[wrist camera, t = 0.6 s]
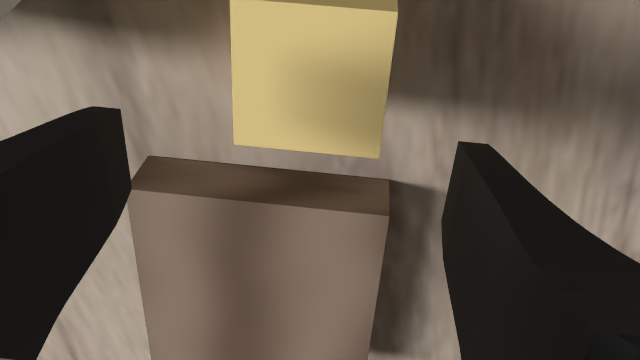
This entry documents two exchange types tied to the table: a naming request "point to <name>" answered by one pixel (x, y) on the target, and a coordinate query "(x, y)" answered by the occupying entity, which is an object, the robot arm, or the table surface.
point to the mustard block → (311, 73)
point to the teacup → (7, 6)
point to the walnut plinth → (257, 260)
